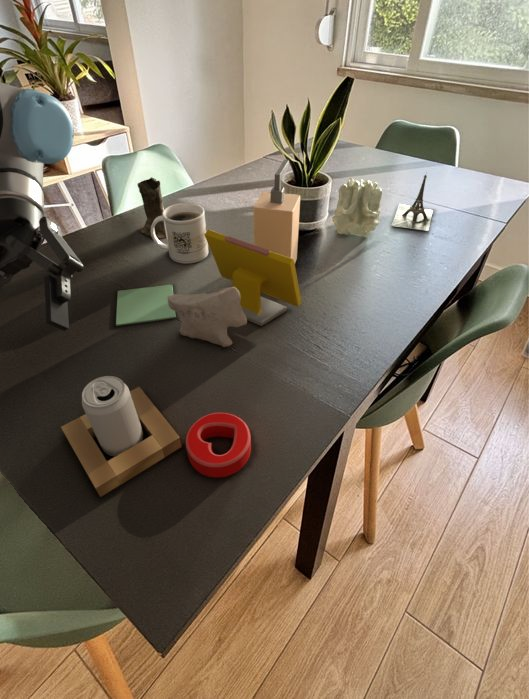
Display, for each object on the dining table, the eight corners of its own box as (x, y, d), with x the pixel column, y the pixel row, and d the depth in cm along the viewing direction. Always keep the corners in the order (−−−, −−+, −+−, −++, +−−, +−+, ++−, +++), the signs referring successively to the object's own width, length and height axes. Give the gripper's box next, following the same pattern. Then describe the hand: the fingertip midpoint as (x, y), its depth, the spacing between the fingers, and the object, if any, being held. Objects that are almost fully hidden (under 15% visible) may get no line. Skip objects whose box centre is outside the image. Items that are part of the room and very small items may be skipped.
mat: (116, 326, 87) (115, 324, 86) (118, 292, 95) (117, 290, 95) (175, 318, 88) (175, 316, 88) (172, 285, 97) (172, 284, 97)
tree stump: (182, 222, 119) (174, 173, 110) (169, 239, 112) (160, 189, 103) (148, 219, 121) (138, 171, 112) (134, 236, 114) (122, 186, 105)
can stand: (100, 497, 59) (95, 488, 58) (65, 436, 67) (60, 426, 65) (182, 446, 66) (179, 437, 64) (142, 396, 73) (139, 386, 71)
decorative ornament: (261, 438, 67) (261, 425, 65) (230, 488, 61) (228, 476, 58) (210, 415, 70) (208, 402, 68) (175, 460, 64) (172, 448, 62)
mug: (187, 269, 102) (180, 226, 94) (153, 253, 107) (144, 212, 100) (216, 251, 108) (212, 209, 100) (182, 237, 113) (177, 196, 106)
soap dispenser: (289, 277, 99) (294, 183, 84) (254, 272, 101) (252, 179, 86) (300, 250, 108) (305, 161, 93) (267, 246, 110) (267, 157, 95)
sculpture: (253, 345, 82) (252, 280, 72) (244, 361, 79) (241, 295, 69) (178, 325, 87) (166, 261, 76) (166, 339, 84) (153, 274, 73)
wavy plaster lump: (360, 258, 118) (380, 225, 104) (317, 240, 119) (331, 204, 104) (380, 209, 124) (401, 171, 109) (338, 192, 125) (354, 152, 110)
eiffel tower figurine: (398, 204, 128) (408, 158, 119) (433, 210, 125) (446, 163, 116) (391, 227, 118) (401, 178, 108) (429, 233, 115) (443, 184, 106)
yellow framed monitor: (301, 314, 89) (306, 247, 78) (280, 335, 84) (283, 266, 74) (225, 284, 97) (221, 219, 87) (203, 301, 93) (195, 235, 82)
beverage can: (113, 467, 63) (90, 416, 55) (95, 439, 67) (71, 387, 58) (151, 443, 66) (135, 392, 58) (132, 418, 70) (114, 366, 61)
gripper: (103, 192, 61) (118, 319, 52) (-24, 263, 67) (-30, 387, 59) (62, 155, 54) (70, 294, 46) (-75, 237, 60) (-90, 373, 52)
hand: (14, 346), depth 52 cm, fingers open, 13 cm apart
